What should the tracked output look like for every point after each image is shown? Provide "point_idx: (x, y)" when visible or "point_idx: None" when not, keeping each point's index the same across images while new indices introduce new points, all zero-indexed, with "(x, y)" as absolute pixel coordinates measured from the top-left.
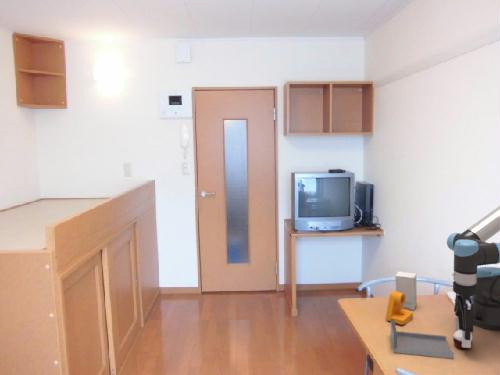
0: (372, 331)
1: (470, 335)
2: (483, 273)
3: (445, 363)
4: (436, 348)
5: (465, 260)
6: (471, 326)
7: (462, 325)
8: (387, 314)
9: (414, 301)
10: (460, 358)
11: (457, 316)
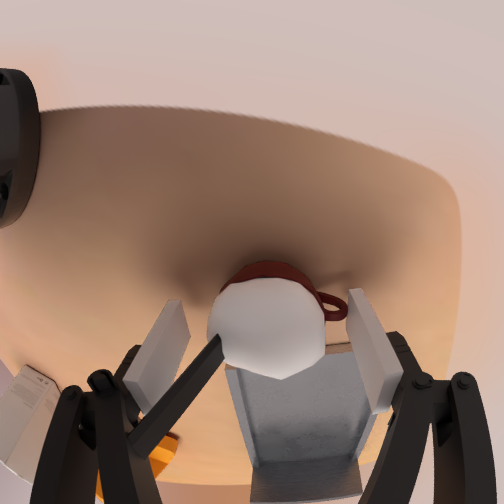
0: (246, 474)
1: (390, 347)
2: None
3: (416, 358)
4: (336, 392)
5: None
6: (477, 419)
7: (204, 366)
8: (163, 469)
9: (38, 401)
10: (384, 312)
11: (140, 409)
